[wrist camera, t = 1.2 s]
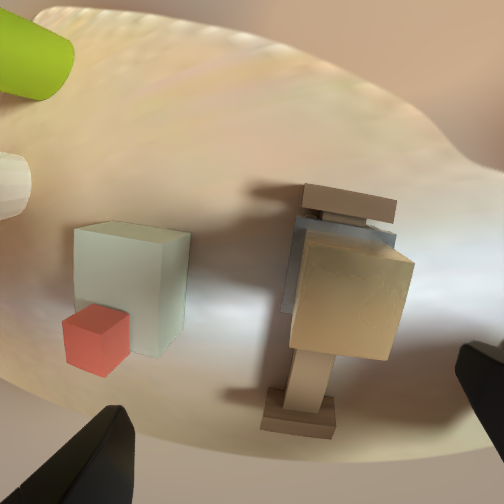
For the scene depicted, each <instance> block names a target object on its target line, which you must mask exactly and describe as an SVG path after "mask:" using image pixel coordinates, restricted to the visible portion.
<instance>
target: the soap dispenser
mask: <svg viewBox="0 0 504 504" xmlns="http://www.w3.org/2000/svg"><path fill="white" fill-rule="evenodd" d="M73 61H74V48H73V45H72V43H71V42H70V41H69V40H67V39H65V38H63V37H61V36H59V35H57V34H56V33H54V32H52V31H50V30H48V29H46V28H43V27H41V26H39V25H37V24H35V23H33V22H31V21H29V20H27V19H25V18H23V17H20V16H18V15H16V14H14V13H11V12H9V11H7V10H5V9H2V8H0V92H4V93H8V94H13V95H17V96H22V97H26V98H30V99H34V100H45V99H47V98H49V97H51V96H52V95H53V94H55V93H56V92H57V91H58V90H59V89H60V88H61V86H62V85H63V84H64V82H65V81H66V79H67V77H68V75H69V73H70V71H71V68H72V65H73Z"/></svg>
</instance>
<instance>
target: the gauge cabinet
mask: <svg viewBox="0 0 504 504" xmlns="http://www.w3.org/2000/svg"><path fill="white" fill-rule="evenodd" d="M190 241H191V233H189V232H182V231H176V230H170V229H163V228H157V227H151V226H144V225H138V224H132V223H125V222H119V221H109V222H104V223H99V224H94V225H89V226H84V227H79V228H75V229H74V276H73V285H74V299H75V313H77V312H79V311H80V310H82V309H84V308H86V307H87V306H89V305H91V304H96V305H99V306H103V307H106V308H110V309H113V310H117V311H120V312H124V313H127V314H129V335H130V351H133V352H136V353H140V354H143V355H146V356H150V357H153V358H157V359H158V358H159V357H160V355H161V354H162V353H163V352H164V351H165V350H166V348H167V347H168V346H169V345H170V344H171V343H172V341H173V340H174V339H175V338H176V337H177V336H178V334H179V333H180V332H181V331H182V330H183V323H184V309H185V296H186V283H187V272H188V261H189V251H190Z"/></svg>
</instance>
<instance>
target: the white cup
mask: <svg viewBox="0 0 504 504" xmlns="http://www.w3.org/2000/svg"><path fill="white" fill-rule="evenodd" d="M31 185H32V183H31V172H30V169H29V166H28V163H27V161H26V160H25V159H24V158H23V157H22V156H21V155H16V154H10V153H5V152H0V220H4V219H7V218H10V217H14V216H17V215H20V214H21V212H22V211H23V210H24V209H25V208H26V206H27V203H28V200H29V198H30V192H31Z"/></svg>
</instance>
